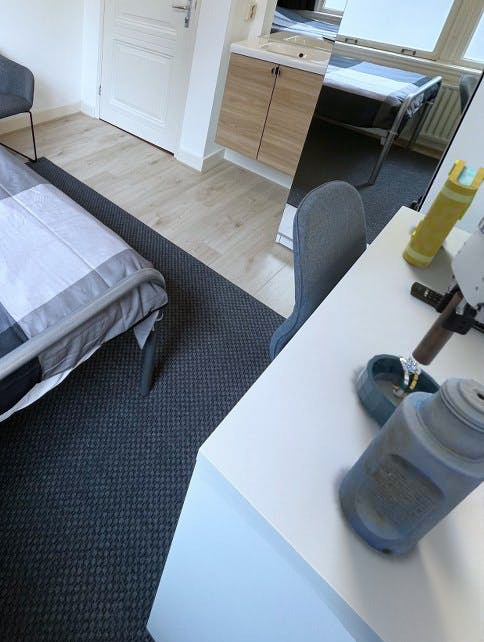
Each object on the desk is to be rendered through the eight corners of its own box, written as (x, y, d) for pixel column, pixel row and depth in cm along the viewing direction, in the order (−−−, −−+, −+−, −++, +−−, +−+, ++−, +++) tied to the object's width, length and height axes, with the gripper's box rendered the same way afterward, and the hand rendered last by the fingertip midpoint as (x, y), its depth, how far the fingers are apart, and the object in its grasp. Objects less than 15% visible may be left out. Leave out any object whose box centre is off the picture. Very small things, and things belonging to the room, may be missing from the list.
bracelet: (403, 409, 76) (424, 383, 72) (383, 399, 77) (402, 372, 73) (402, 378, 81) (421, 352, 77) (383, 369, 82) (401, 343, 79)
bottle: (323, 504, 62) (416, 383, 48) (354, 461, 68) (446, 342, 53) (392, 578, 56) (524, 465, 41) (421, 525, 61) (546, 408, 47)
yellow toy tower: (414, 231, 123) (457, 158, 111) (441, 244, 118) (489, 170, 106) (398, 257, 112) (443, 179, 100) (427, 272, 108) (479, 193, 96)
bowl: (425, 391, 79) (440, 372, 76) (443, 460, 69) (462, 441, 66) (351, 362, 83) (363, 343, 80) (358, 423, 73) (372, 404, 70)
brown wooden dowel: (427, 355, 72) (474, 294, 65) (431, 368, 70) (479, 307, 63) (410, 349, 73) (454, 288, 66) (413, 361, 71) (459, 300, 64)
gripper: (582, 283, 50) (496, 376, 59) (523, 210, 64) (461, 295, 72) (505, 261, 53) (434, 353, 62) (464, 195, 66) (411, 279, 75)
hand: (449, 321), depth 67 cm, fingers closed on brown wooden dowel, 2 cm apart
